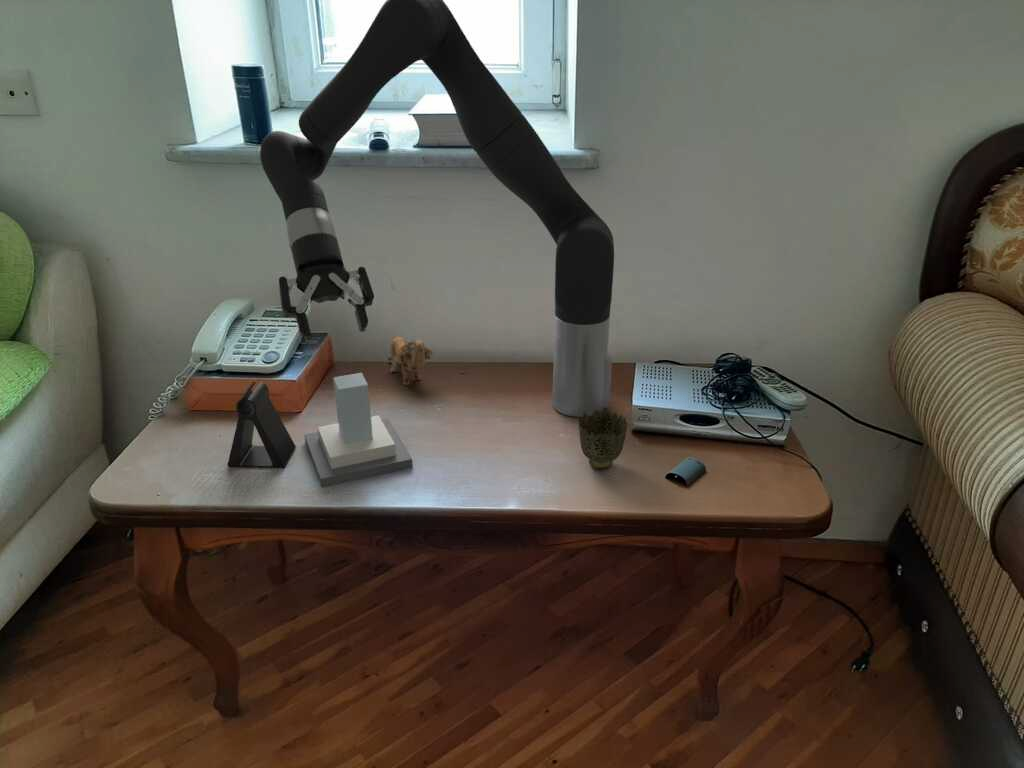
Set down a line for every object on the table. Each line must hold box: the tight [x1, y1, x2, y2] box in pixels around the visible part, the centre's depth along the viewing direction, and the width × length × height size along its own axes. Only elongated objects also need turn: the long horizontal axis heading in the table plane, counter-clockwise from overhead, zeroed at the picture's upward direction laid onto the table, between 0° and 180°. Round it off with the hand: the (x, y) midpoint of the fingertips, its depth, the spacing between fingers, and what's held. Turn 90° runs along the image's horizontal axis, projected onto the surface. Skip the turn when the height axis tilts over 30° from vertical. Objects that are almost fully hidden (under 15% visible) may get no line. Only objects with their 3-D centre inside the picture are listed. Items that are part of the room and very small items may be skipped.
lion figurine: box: [387, 336, 434, 386], centre depth 149 cm, size 15×5×9 cm, turn 36°
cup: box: [577, 408, 629, 471], centre depth 120 cm, size 8×7×8 cm
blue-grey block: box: [333, 372, 373, 444], centre depth 121 cm, size 4×4×10 cm
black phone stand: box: [227, 381, 296, 469], centre depth 121 cm, size 9×6×12 cm, turn 88°
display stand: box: [303, 414, 414, 488], centre depth 124 cm, size 14×14×4 cm
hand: (336, 333), depth 123 cm, fingers open, 8 cm apart
